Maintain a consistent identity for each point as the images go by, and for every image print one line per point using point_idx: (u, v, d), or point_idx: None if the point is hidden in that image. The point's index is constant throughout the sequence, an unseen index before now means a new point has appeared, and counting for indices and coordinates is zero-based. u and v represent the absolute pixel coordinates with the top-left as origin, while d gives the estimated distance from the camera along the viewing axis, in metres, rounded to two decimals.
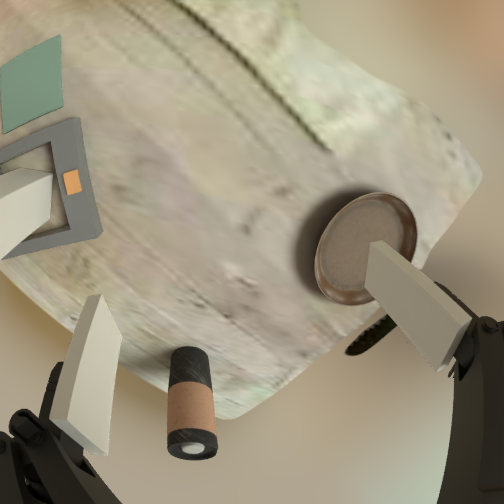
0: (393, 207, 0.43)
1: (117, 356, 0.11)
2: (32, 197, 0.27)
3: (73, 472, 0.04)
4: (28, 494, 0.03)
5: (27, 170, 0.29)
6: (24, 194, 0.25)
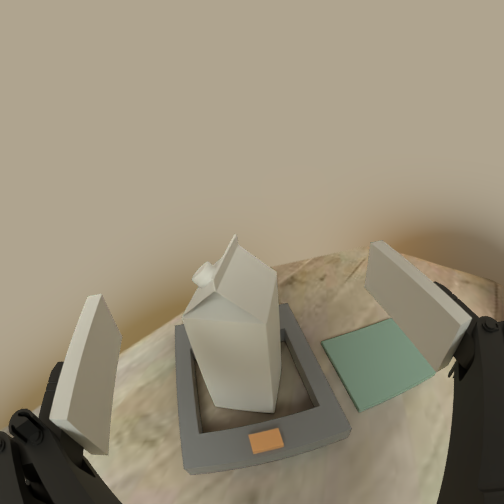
0: None
1: (117, 356, 0.11)
2: (251, 386, 0.26)
3: (73, 472, 0.04)
4: (27, 493, 0.03)
5: (279, 377, 0.31)
6: (259, 374, 0.24)
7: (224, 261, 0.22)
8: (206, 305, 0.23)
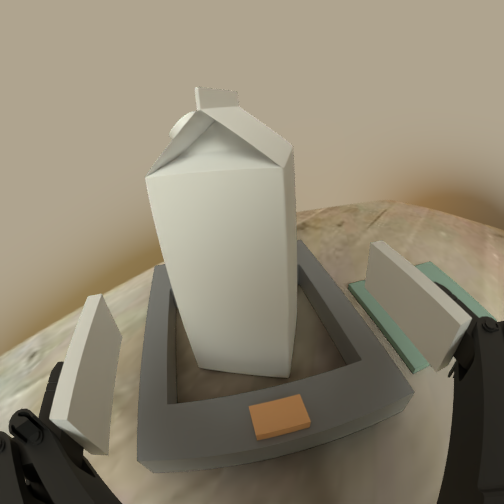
0: None
1: (117, 356, 0.11)
2: (255, 320, 0.17)
3: (73, 472, 0.04)
4: (28, 494, 0.03)
5: (295, 326, 0.22)
6: (269, 291, 0.15)
7: (217, 93, 0.13)
8: (185, 161, 0.14)
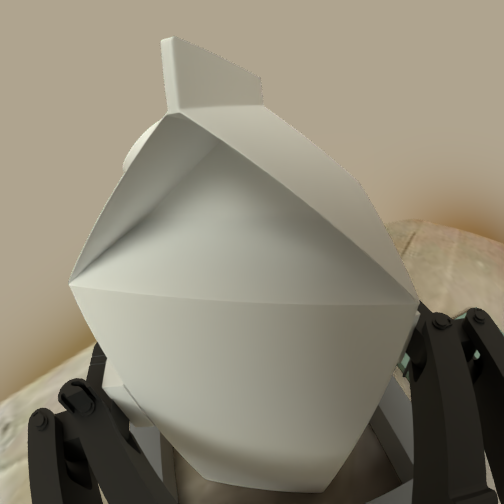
0: None
1: None
2: (291, 468, 0.09)
3: (124, 447, 0.05)
4: (65, 476, 0.04)
5: None
6: (322, 453, 0.07)
7: (229, 70, 0.05)
8: (155, 242, 0.06)
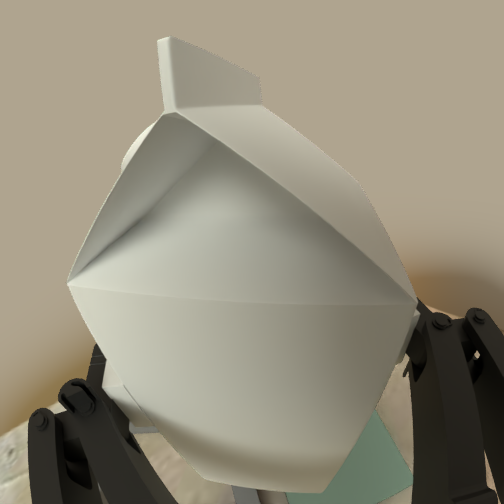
0: None
1: None
2: (290, 469, 0.09)
3: (124, 447, 0.05)
4: (66, 476, 0.04)
5: None
6: (321, 453, 0.07)
7: (227, 70, 0.05)
8: (153, 242, 0.06)
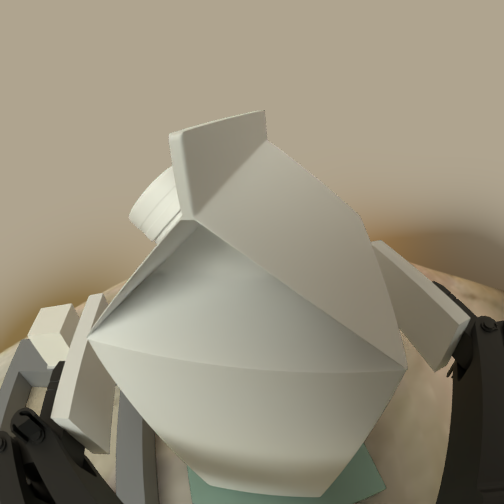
0: None
1: None
2: (291, 479, 0.09)
3: (75, 471, 0.04)
4: (29, 493, 0.03)
5: None
6: (319, 468, 0.08)
7: (237, 127, 0.05)
8: (167, 300, 0.06)
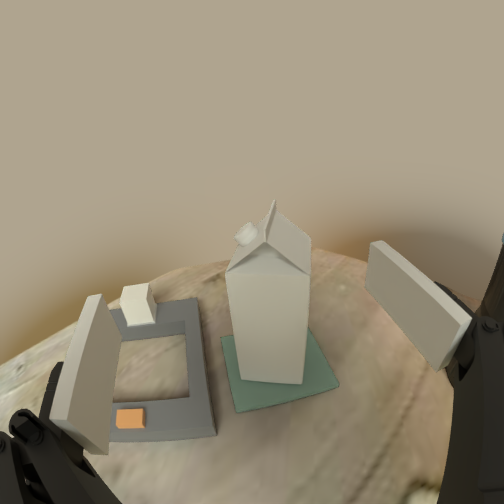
0: None
1: (117, 356, 0.11)
2: (285, 350, 0.27)
3: (73, 472, 0.04)
4: (28, 494, 0.03)
5: None
6: (296, 335, 0.25)
7: (270, 217, 0.23)
8: (249, 261, 0.24)
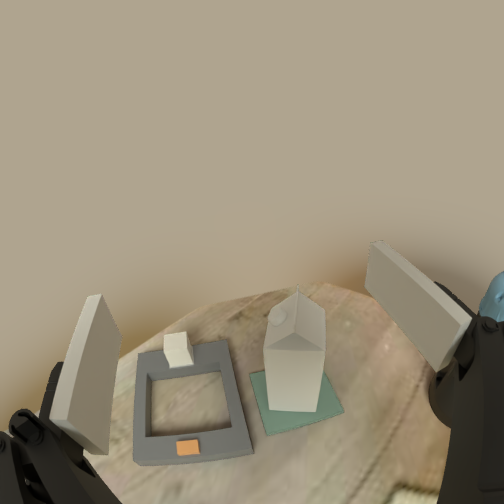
0: None
1: (117, 356, 0.11)
2: (304, 392, 0.34)
3: (73, 472, 0.04)
4: (28, 494, 0.03)
5: None
6: (313, 384, 0.32)
7: (296, 309, 0.30)
8: (280, 339, 0.31)
